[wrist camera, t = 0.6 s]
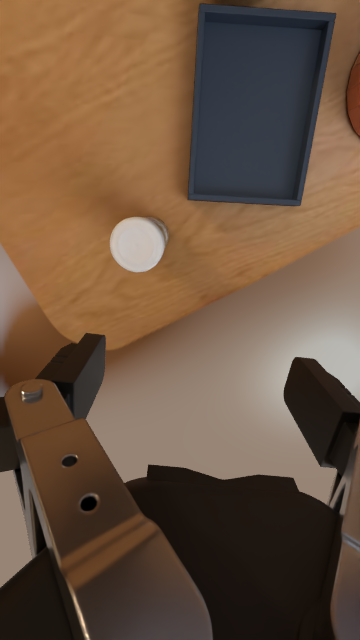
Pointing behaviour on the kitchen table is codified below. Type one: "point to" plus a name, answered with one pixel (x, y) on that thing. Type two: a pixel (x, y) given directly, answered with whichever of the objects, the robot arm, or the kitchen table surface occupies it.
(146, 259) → the sprinkles bottle
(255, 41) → the tray
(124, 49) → the kitchen table surface
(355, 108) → the bowl
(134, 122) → the kitchen table surface
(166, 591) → the robot arm
